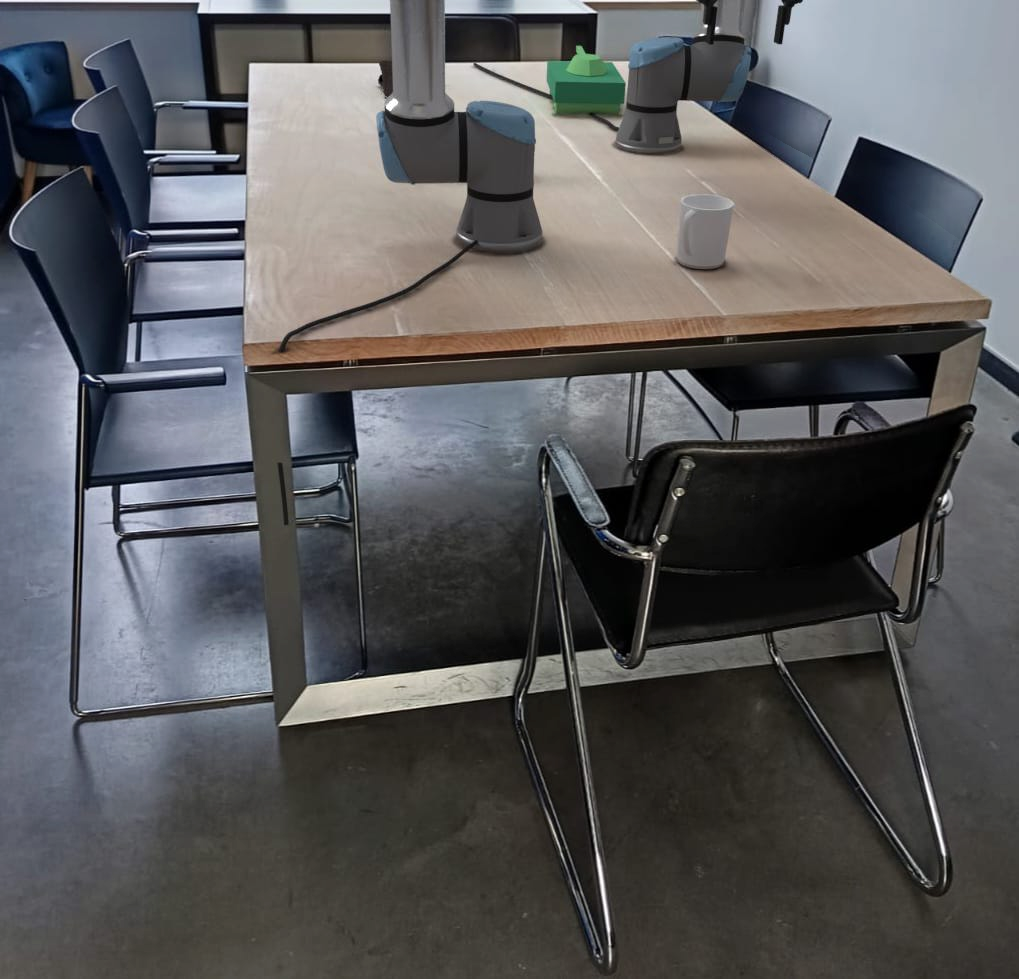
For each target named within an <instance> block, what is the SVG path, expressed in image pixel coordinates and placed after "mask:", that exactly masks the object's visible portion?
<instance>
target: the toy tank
mask: <svg viewBox="0 0 1019 979" xmlns="http://www.w3.org/2000/svg"><path fill="white" fill-rule="evenodd" d="M575 52H576V54H574V56H572V59H571V60H569V61H567V60H565V61H564V60H547V61H546V83H547V87H548V88H549V94H550V95H552V97H553V99H552V101H553V104H554V106H553V107H554V115H587V114H589V113H591V112H592V113H594V114H596V115H598V116H601V115H605V116H606V115H610V116H613V115H615V116H619V115H620V114H621V105H625V98H626V86H627V85H626V84H627V82H626V80H624V78H623V77H622V75H621V73H620V72H619V70H618V68H617V67H616V66H615V64H614V63H613V62H612V61H604V60H603V57H602V56H600V55H597V54H591V53H586V51H585V50H584V48H583V46H582V45H576V46H575Z"/></svg>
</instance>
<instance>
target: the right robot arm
mask: <svg viewBox="0 0 1019 979" xmlns="http://www.w3.org/2000/svg"><path fill="white" fill-rule="evenodd" d="M780 1H781V3H782V4H781V5H779V4H778V5H777V14H776V20H775V21H776V22H775V27H774V28H775V29H774V35H773V43H774V44H776V45H783V42H784V33H785V27H786V26H789V24H790V22H791V16H792V9H793V8H794V7H795V6H796V5H797V4H801V3H803V1H804V0H780ZM695 2H698V3H700V15H699V16H700V17H699V29H698V31H697V32H696V33H695V34H693V36H692V37H691V44H690V45H685V42H684V39H683V38H681V37H676V36H673V37H671V36H664V37H654V38H647V39H643V40H641V41H638V42H636V43H635V44H634V45H633V46H632V47H631V48H630V52H629V60H628V61H629V62H628V64H627V68H628V77H627V88H626V89H627V90H626V101H625V102H626V103H625V112H624V114H623V117H622V119H621V121H620V124H619V127H618V126H616V125H615V124H613V123H612V122H611V121H609V120H608V119H606V118H604V117H602V116H601V115H599V114H594V113H592V112H591V113H589V114H586V115H587V116H589V117H592V118H593V119H596V120H598V121H600V122H602V123H603V124H605V125H607V126H608V127H609V128H611V129H612V130H614V131H615V132H616V134H615V143H614V145H615V147H617V148H619V149H620V150H623V151H626V152H630V153H636V154H643V155H645V154H646V155H663V154H665V155H666V154H670V153H671V154H673V153H675V152H678V151H679V150H681V148H682V143H683V142H682V134H681V128H680V124H679V119H678V112H677V111H678V103H679V102H681V101H685V102H716V103H724V102H726V103H727V102H736V101H737V100H739V98H741V96H742V94H743V92H744V90H745V87H746V84H747V80H748V76H749V71H750V68H751V67H750V66H751V62H752V49H751V47H749V46H745V40H746V39H745V38H746V37H745V36H744V35H743V33H741V32H740V30H739V29H740V28H739V25H740V12H741V11H740V10H741V0H695ZM473 67H475V68H478V69H480V70H481V71H483V72H485V73H488V74H489V75H492V76H494V77H496V78H498V79H500V80H503V81H505V82H508V83H510V84H513V85H515V86H518V87H519V88H520V87H521V88H522V89H526V90H528V91H530V92H532V93H535V94H538V95H541V96H543V97H546V98H548V99H551V100H553V97H552V95H550V93H547V92H545V91H542V90H540V89H537V88H534V87H531V86H529V85H526V84H524V83H521V82H520V81H516V80H514V79H511V78H509V77H506V76H504V75H502V74H500V73H498V72H495V71H493V70H490V69H488V68H486V67H484V66H482V65H480V64H478V63H477V62H474V63H473ZM678 101H679V102H678Z"/></svg>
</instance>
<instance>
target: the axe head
mask: <svg viewBox="0 0 1019 979" xmlns="http://www.w3.org/2000/svg"><path fill="white" fill-rule="evenodd" d="M378 66H379V68H380V72H381V74H379V75H378V79H377V84H378V85H379V86H380V87H381V88H382V89H383V95H384V96H385V97H387V98H388V97H389V96H390V95H391V94H392V93H393V73H392V60H388V59H387V60H380V61H379V62H378Z"/></svg>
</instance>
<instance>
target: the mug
mask: <svg viewBox="0 0 1019 979" xmlns="http://www.w3.org/2000/svg"><path fill="white" fill-rule="evenodd" d="M734 207H735V203H734V201H733V200H732V199H729V198H727V197H725V196H721V195H716V194H706V193H705V194H704V193H696V194H695V193H694V194H689V195H684V196H683V197H681V198H680V200H679V212H678V213H679V214H678V231H677V232H678V234H677V251H676V260H677V262H678V263H679V264H680V265H682V266H684V267H687V268H691V269H695V270H714V269H718V268H720V267H722V266H723V265H724V263H725V259H726V254H727V248H728V247H727V246H728V242H729V235H730V231H731V226H732V225H731V224H732V219H733V213H734Z"/></svg>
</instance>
